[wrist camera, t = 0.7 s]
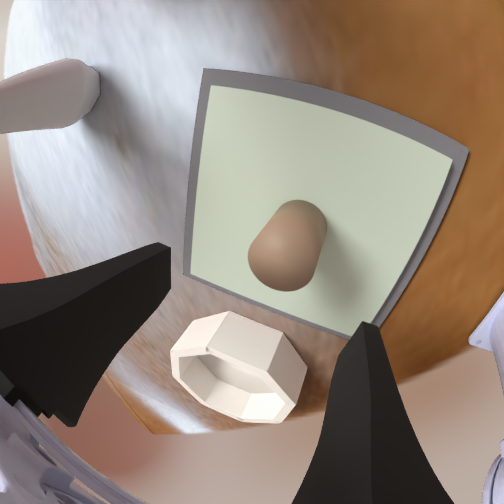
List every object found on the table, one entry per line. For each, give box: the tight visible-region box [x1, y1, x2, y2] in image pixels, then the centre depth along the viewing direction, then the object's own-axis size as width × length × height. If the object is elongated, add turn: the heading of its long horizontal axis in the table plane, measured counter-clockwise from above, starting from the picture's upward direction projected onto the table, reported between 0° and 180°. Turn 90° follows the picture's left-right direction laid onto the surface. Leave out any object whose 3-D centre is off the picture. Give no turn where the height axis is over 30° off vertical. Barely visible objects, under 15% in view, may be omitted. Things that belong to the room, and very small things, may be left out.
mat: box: [183, 68, 469, 340], centre depth 16 cm, size 15×15×1 cm
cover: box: [190, 85, 453, 336], centre depth 14 cm, size 13×13×5 cm
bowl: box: [170, 311, 308, 423], centre depth 23 cm, size 11×11×4 cm
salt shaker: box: [0, 58, 100, 134], centre depth 11 cm, size 6×6×13 cm
